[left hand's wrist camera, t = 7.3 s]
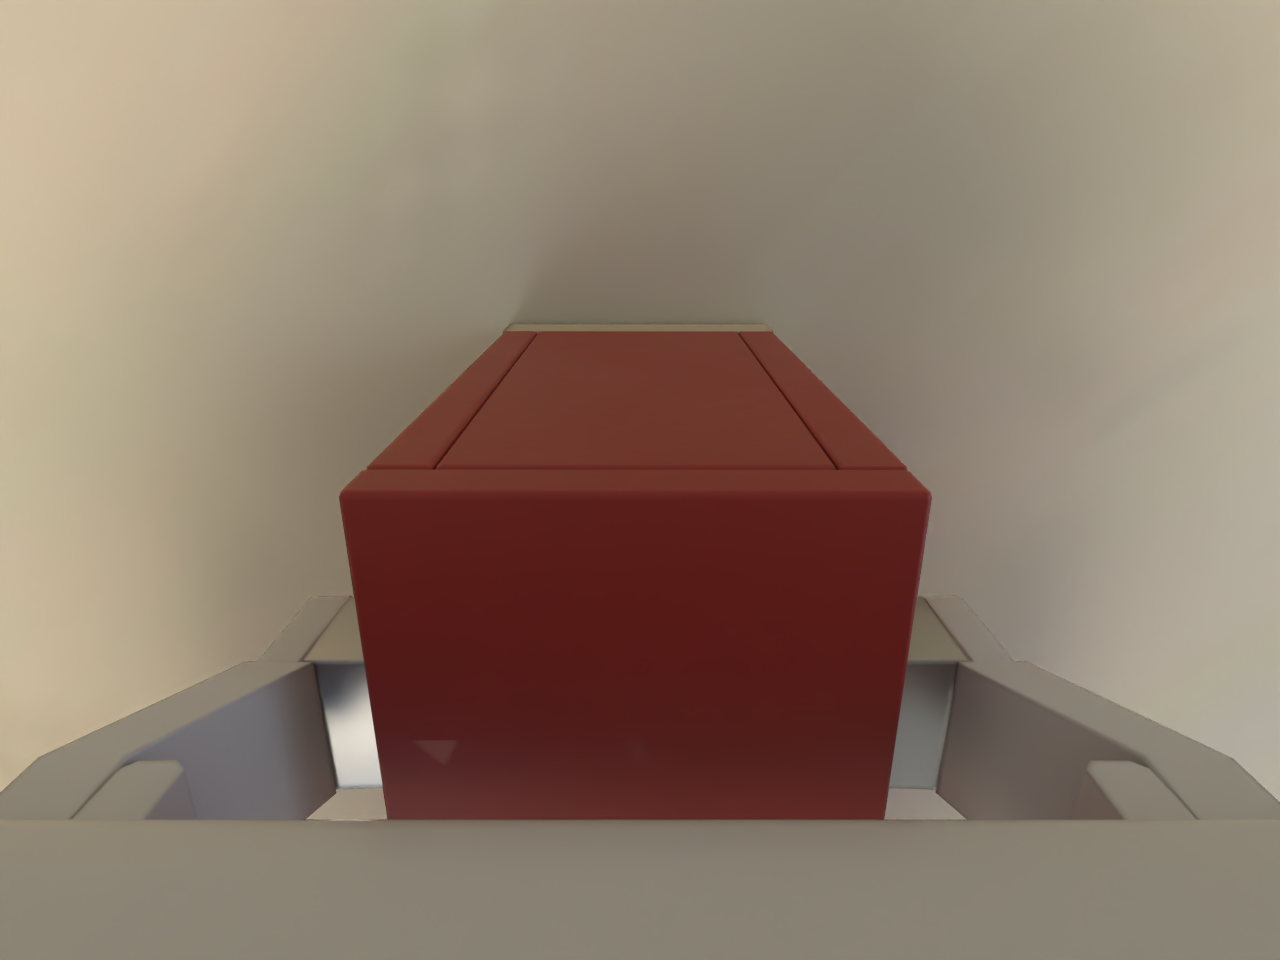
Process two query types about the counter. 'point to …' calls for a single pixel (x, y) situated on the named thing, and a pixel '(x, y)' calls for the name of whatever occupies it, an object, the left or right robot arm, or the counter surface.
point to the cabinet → (636, 585)
